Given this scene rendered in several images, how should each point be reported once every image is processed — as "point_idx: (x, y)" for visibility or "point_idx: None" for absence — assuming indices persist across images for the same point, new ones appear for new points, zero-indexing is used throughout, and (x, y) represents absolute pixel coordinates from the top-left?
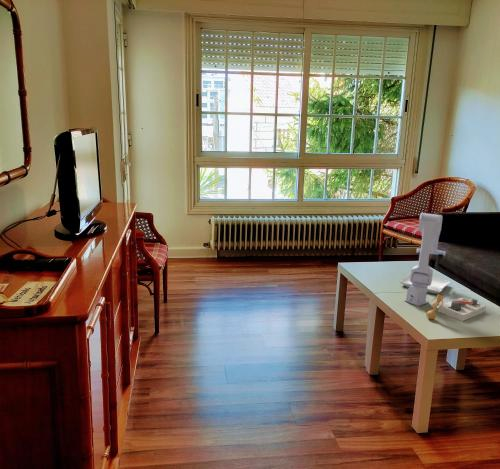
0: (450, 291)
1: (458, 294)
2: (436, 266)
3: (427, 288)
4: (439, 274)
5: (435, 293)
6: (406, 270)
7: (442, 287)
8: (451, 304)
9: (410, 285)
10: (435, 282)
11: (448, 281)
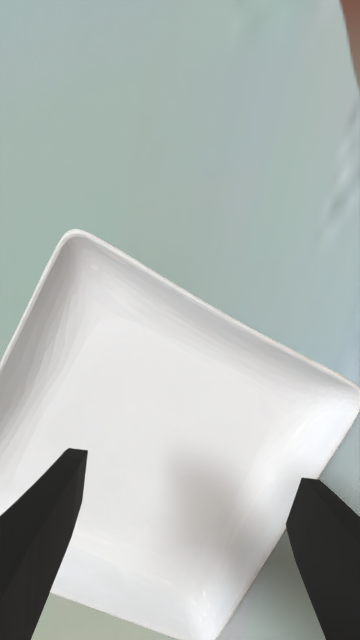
0: None
1: None
2: (298, 548)
3: (130, 620)
4: (355, 90)
5: (188, 592)
6: (60, 37)
7: (267, 495)
8: None
9: None
10: (249, 370)
11: (354, 391)
